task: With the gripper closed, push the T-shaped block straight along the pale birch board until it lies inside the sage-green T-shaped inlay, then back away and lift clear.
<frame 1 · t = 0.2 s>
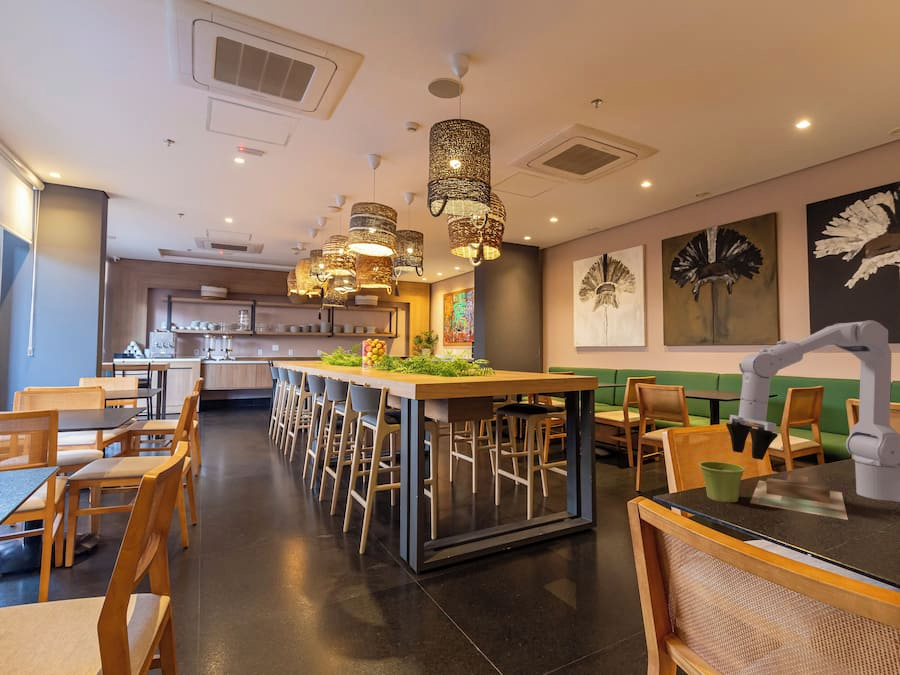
hand: (747, 455, 109), 11 cm above the table, tool pointing down, fingers open, 7 cm apart
t board: (797, 501, 106), on the table
plant pot: (722, 503, 106), on the table
t block: (797, 493, 109), point 1 cm above the table, touching t board
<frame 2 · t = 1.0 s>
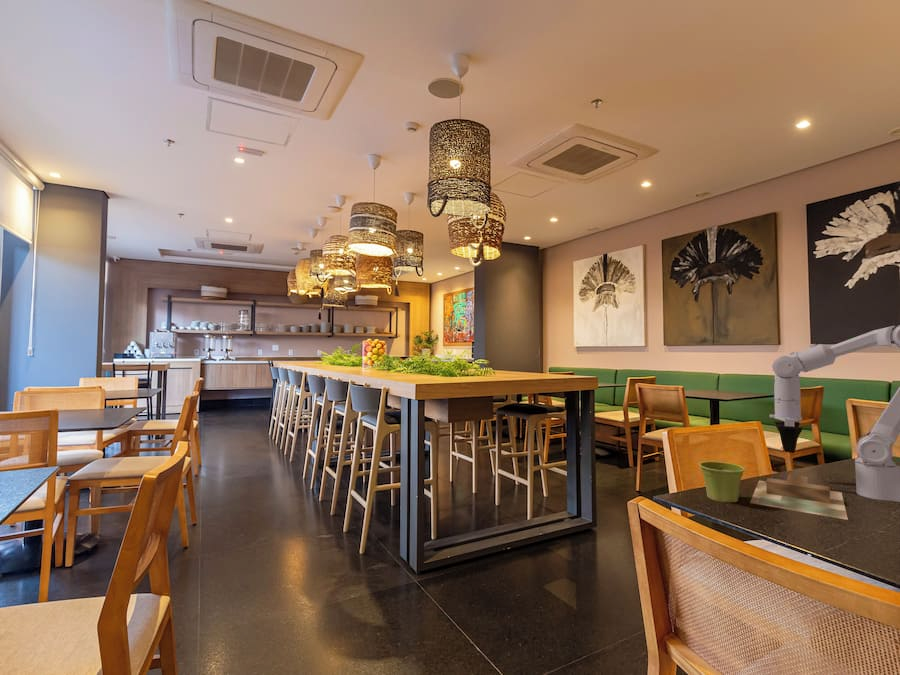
hand: (788, 449, 120), 10 cm above the table, tool pointing down, fingers open, 7 cm apart
nothing on the table moved.
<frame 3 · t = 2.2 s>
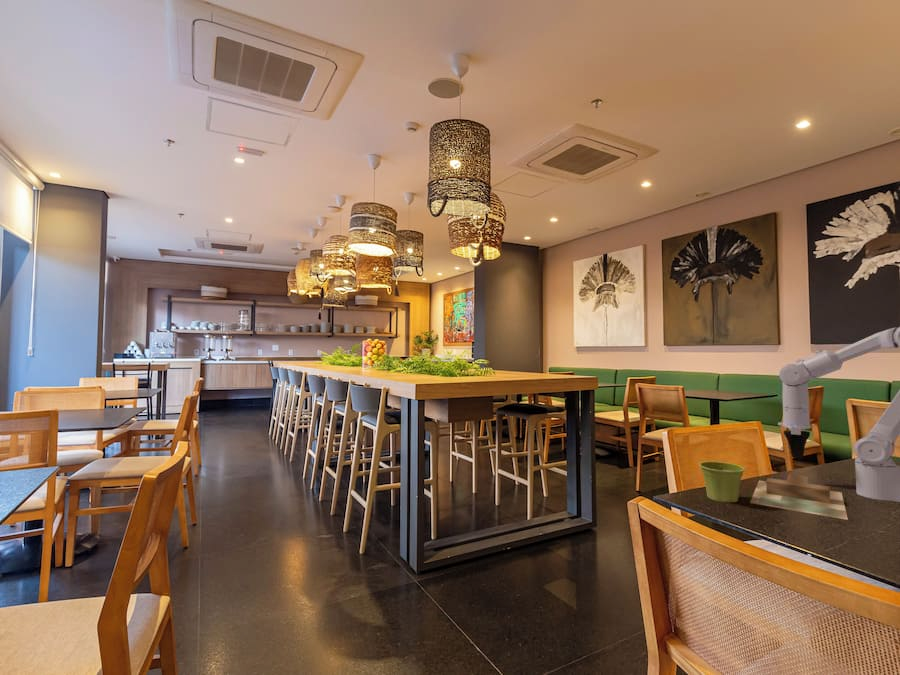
hand: (797, 457, 119), 8 cm above the table, tool pointing down, fingers closed
nothing on the table moved.
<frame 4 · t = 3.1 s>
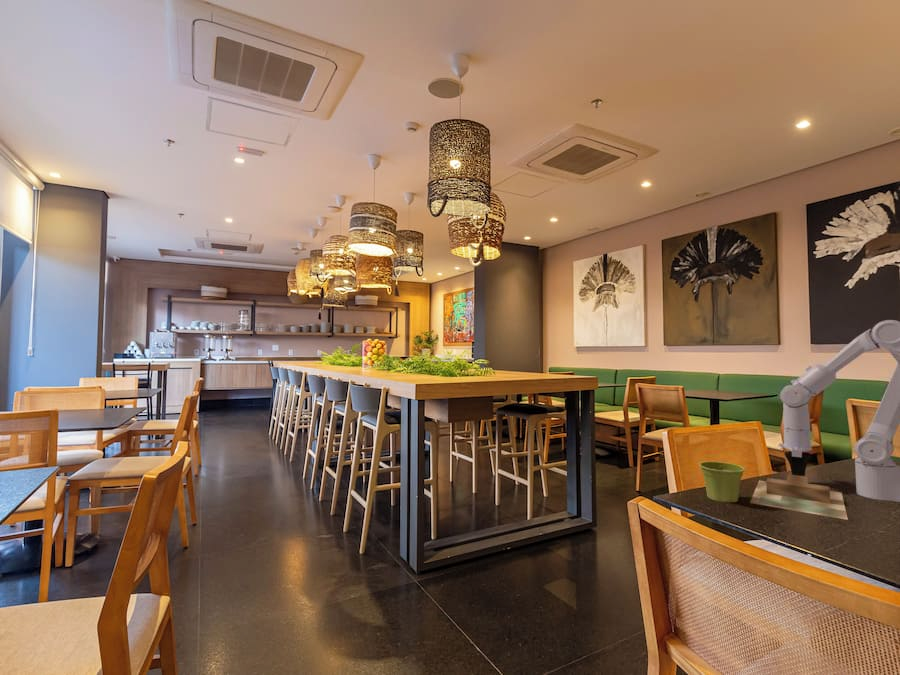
hand: (798, 479, 119), 2 cm above the table, tool pointing down, fingers closed
nothing on the table moved.
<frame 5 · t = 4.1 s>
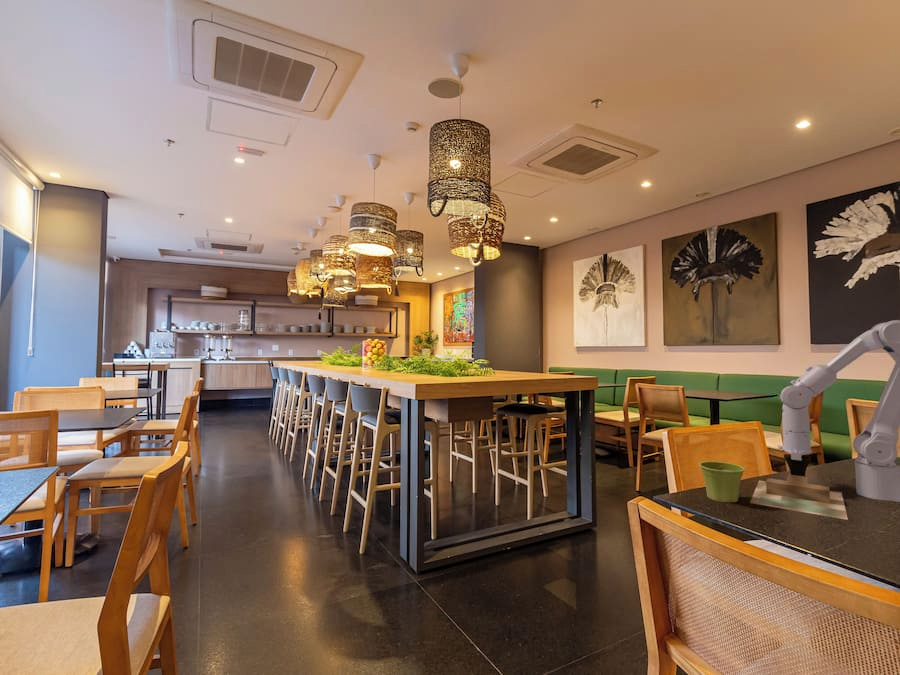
hand: (798, 483, 115), 2 cm above the table, tool pointing down, fingers closed
t block: (797, 493, 109), point 1 cm above the table, touching gripper, t board
everything else where it was.
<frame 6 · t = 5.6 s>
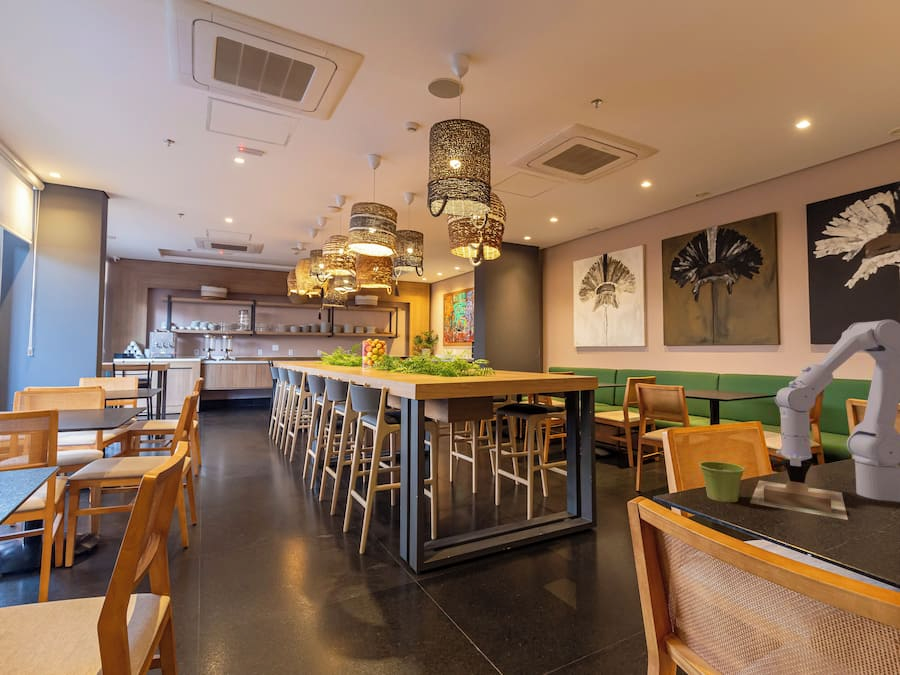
hand: (797, 489, 109), 2 cm above the table, tool pointing down, fingers closed
t block: (797, 501, 103), point 1 cm above the table, touching gripper, t board
everything else where it was.
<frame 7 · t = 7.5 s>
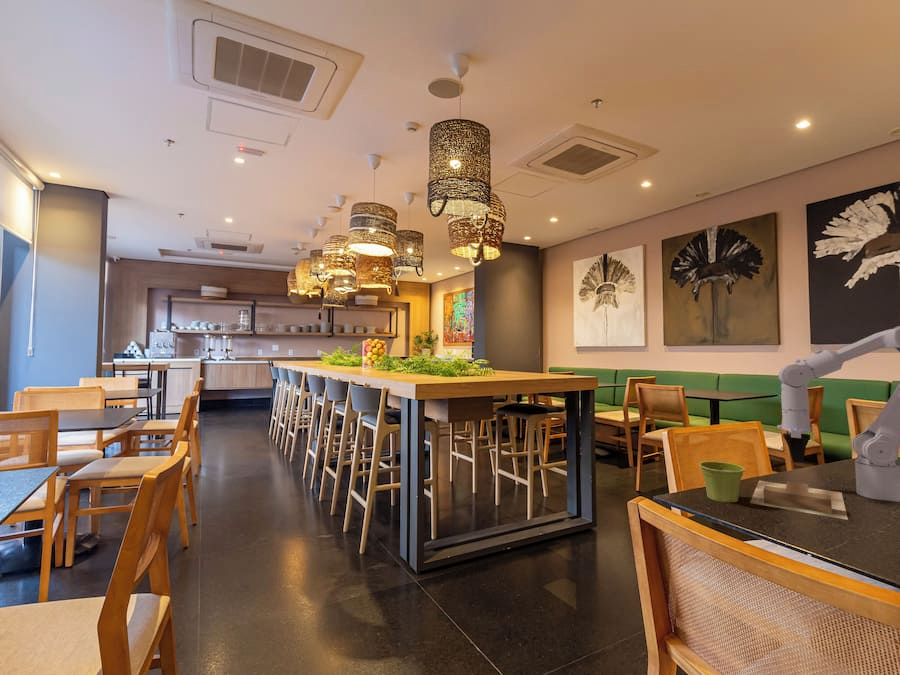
hand: (797, 461, 115), 8 cm above the table, tool pointing down, fingers closed
t block: (797, 502, 102), point 1 cm above the table, touching t board
everything else where it was.
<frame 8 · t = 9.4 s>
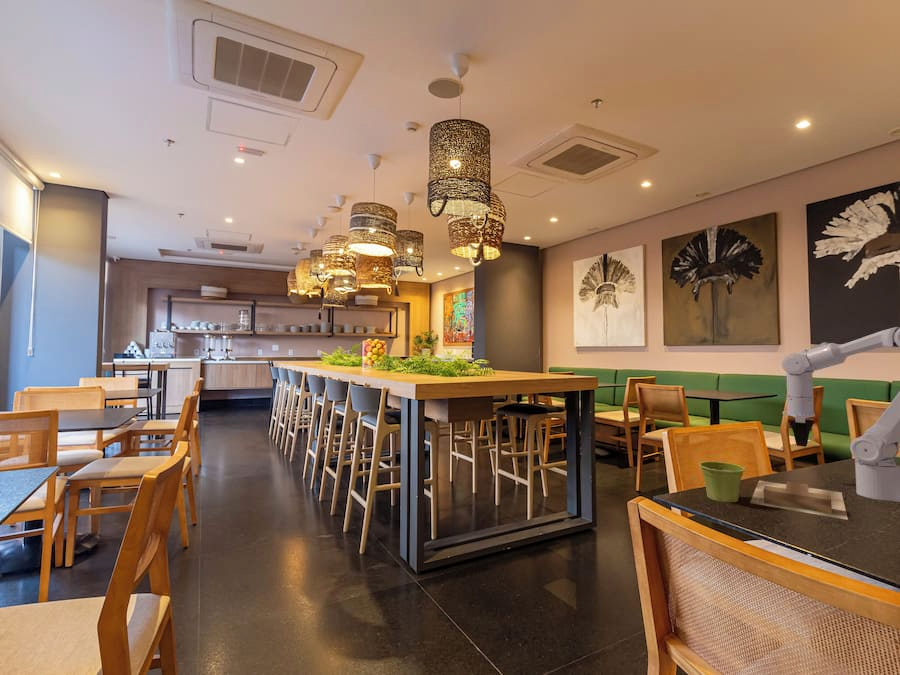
hand: (801, 445, 121), 10 cm above the table, tool pointing down, fingers closed
nothing on the table moved.
at the end: t block 0.2 cm from the target spot on the t board, point 1.0 cm above the t board's base; t block tilted 0°; t block moved 8.8 cm from its start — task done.
